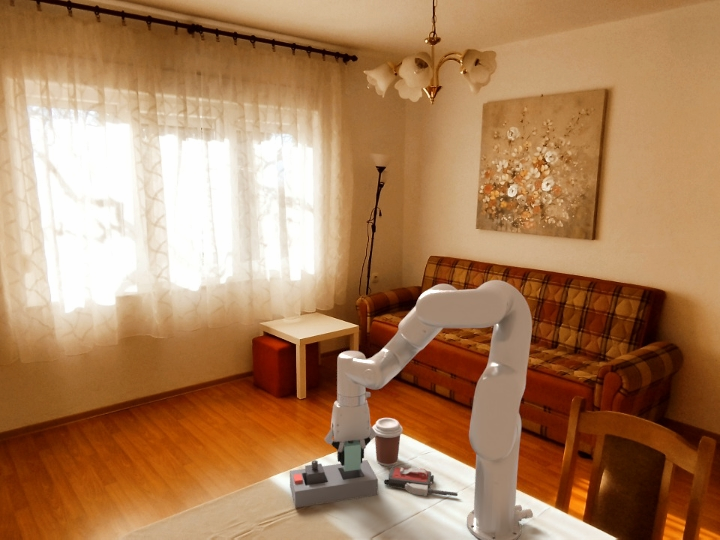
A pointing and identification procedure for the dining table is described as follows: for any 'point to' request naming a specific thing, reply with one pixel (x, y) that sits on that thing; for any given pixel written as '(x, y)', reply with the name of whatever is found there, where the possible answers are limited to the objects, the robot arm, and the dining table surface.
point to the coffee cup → (387, 440)
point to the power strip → (331, 483)
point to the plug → (352, 455)
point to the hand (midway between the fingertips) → (350, 461)
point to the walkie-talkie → (414, 481)
